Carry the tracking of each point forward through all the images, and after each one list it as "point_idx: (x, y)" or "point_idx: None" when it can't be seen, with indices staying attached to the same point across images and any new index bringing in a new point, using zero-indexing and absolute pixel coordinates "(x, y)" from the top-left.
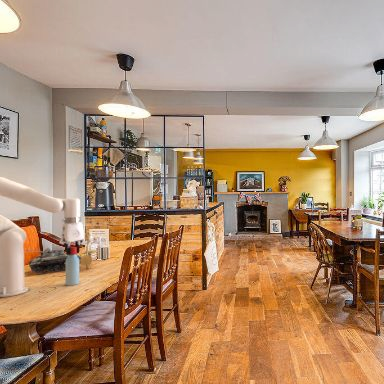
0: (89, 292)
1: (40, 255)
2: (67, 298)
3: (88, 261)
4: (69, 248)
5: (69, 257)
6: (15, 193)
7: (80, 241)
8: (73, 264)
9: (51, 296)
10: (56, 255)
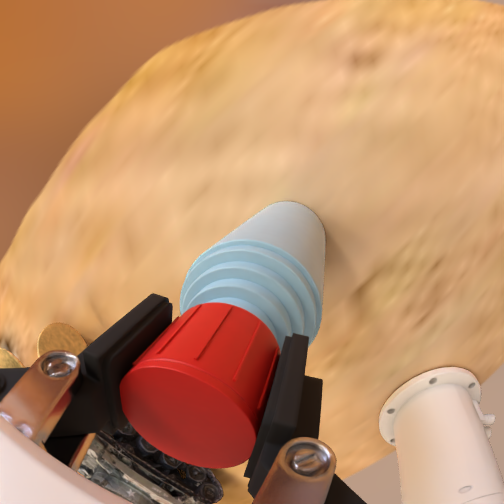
0: (394, 20)
1: None
2: (488, 80)
3: (62, 338)
4: (294, 422)
5: (289, 335)
6: None
7: (2, 395)
8: (298, 245)
9: (486, 188)
10: (121, 482)
